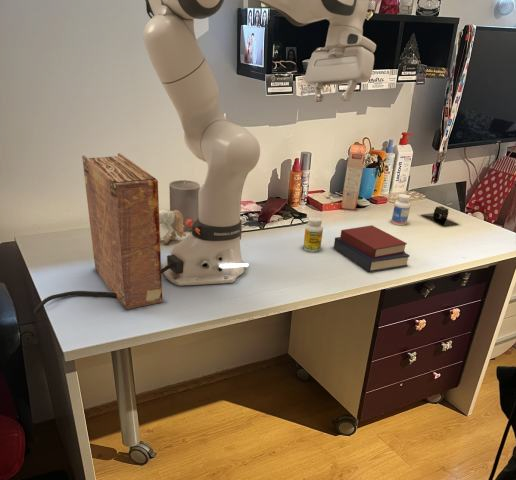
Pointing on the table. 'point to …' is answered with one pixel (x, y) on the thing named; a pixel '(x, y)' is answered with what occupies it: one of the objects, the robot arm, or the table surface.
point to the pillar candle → (184, 200)
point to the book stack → (372, 248)
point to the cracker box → (353, 176)
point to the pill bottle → (401, 210)
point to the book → (125, 228)
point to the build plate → (440, 217)
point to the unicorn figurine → (168, 219)
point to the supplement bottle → (313, 235)
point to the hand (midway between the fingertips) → (331, 101)
